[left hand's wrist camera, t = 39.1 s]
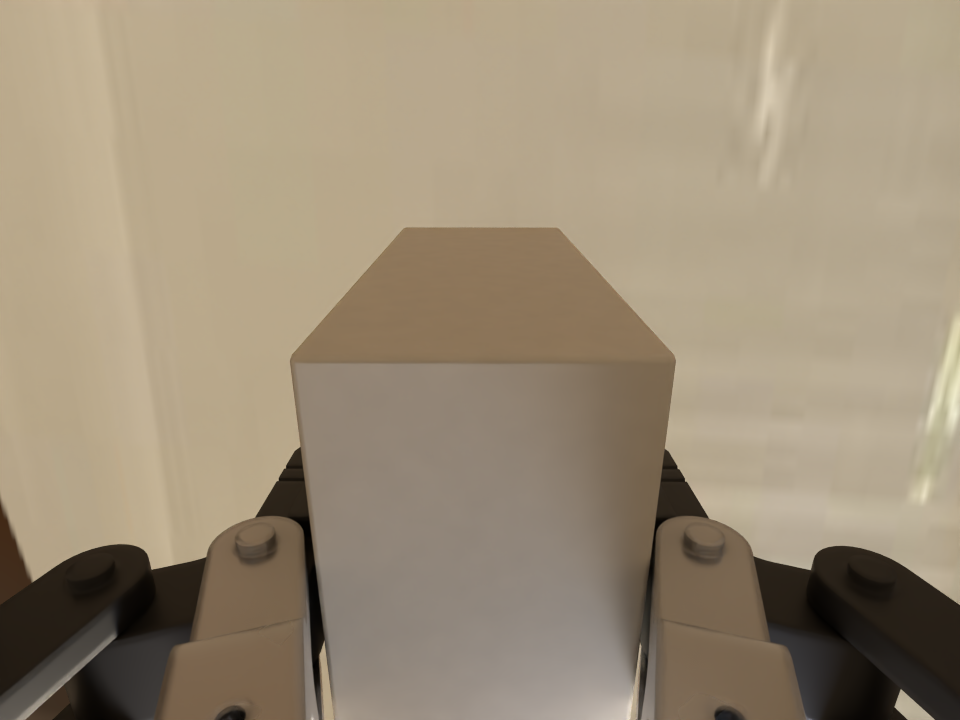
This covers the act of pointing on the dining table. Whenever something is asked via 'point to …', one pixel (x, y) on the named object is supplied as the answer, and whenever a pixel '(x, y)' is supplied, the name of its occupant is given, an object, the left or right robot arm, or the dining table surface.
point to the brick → (482, 480)
